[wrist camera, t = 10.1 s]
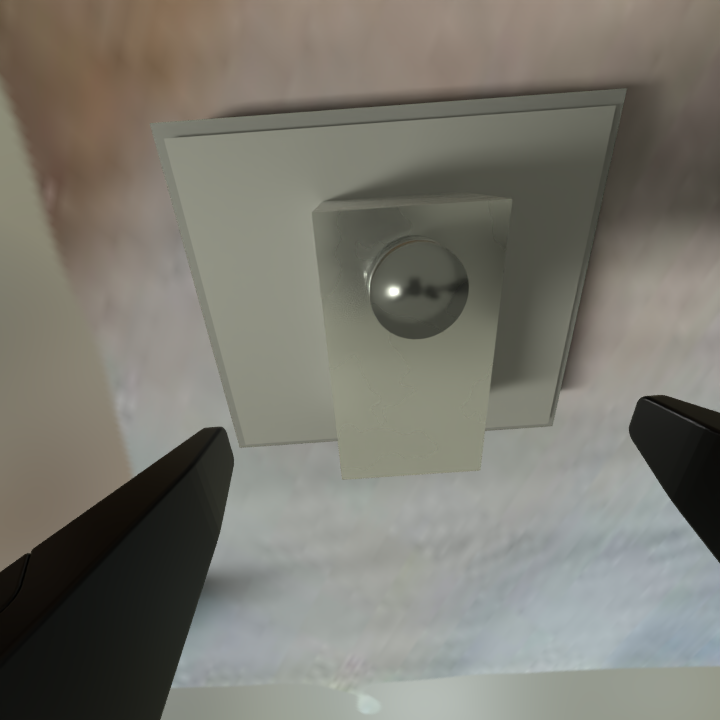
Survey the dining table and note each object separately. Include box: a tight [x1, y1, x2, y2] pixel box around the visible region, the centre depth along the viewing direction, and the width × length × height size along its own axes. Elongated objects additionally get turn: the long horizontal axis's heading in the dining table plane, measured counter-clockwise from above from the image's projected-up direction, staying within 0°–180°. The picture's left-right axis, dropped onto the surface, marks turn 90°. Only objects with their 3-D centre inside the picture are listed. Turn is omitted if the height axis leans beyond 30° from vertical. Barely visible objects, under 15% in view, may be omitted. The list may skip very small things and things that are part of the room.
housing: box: [312, 192, 512, 480], centre depth 12 cm, size 9×5×6 cm, turn 4°
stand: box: [150, 88, 627, 448], centre depth 16 cm, size 16×14×3 cm
